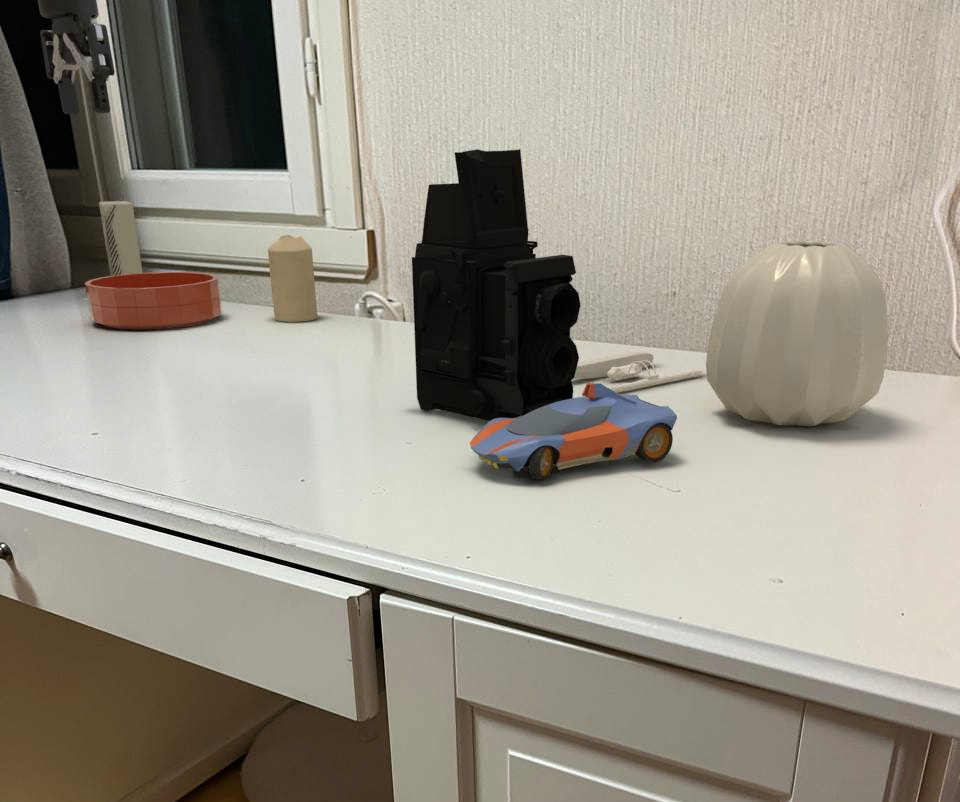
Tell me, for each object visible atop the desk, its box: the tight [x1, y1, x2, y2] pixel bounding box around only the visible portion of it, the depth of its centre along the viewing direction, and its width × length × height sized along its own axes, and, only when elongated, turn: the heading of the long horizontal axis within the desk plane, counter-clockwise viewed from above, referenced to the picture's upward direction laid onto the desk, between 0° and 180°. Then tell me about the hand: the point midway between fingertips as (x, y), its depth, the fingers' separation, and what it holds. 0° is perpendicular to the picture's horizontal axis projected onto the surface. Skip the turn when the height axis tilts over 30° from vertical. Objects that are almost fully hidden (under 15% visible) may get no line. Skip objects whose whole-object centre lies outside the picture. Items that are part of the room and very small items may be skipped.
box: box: [98, 200, 143, 276], centre depth 147 cm, size 5×4×13 cm
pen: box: [572, 350, 654, 380], centre depth 96 cm, size 2×14×2 cm, turn 131°
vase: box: [705, 240, 889, 427], centre depth 79 cm, size 14×14×13 cm
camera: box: [411, 148, 581, 422], centre depth 79 cm, size 10×14×20 cm
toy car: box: [469, 382, 678, 480], centre depth 70 cm, size 8×15×5 cm, turn 117°
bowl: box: [84, 271, 223, 331], centre depth 127 cm, size 16×16×5 cm
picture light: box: [606, 360, 704, 394], centre depth 93 cm, size 14×4×2 cm, turn 127°
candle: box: [267, 234, 318, 323], centre depth 126 cm, size 6×6×10 cm
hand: (86, 113), depth 139 cm, fingers open, 8 cm apart
